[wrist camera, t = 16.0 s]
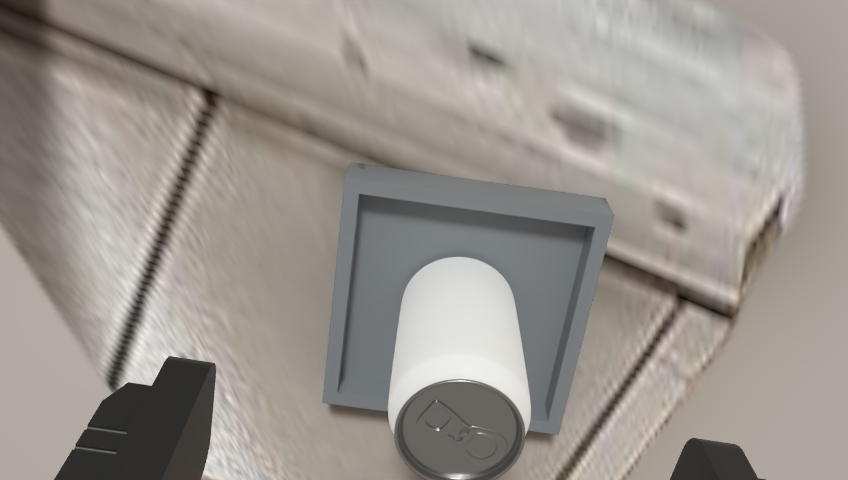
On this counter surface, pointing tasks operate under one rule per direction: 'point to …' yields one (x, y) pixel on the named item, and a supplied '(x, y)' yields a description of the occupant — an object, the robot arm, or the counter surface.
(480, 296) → the can
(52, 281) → the counter surface
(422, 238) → the bin
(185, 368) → the robot arm
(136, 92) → the counter surface
